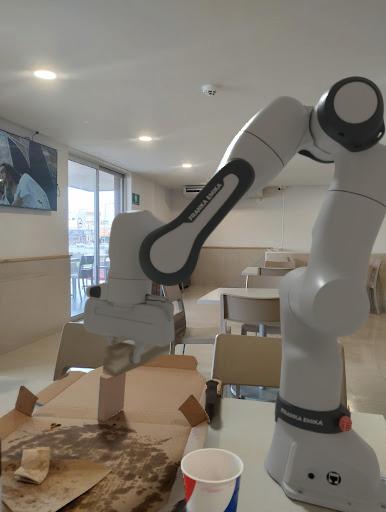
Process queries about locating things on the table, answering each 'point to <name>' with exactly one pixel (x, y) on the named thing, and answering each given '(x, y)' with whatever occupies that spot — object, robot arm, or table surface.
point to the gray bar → (119, 357)
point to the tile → (111, 396)
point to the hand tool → (211, 398)
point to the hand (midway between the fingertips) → (125, 360)
